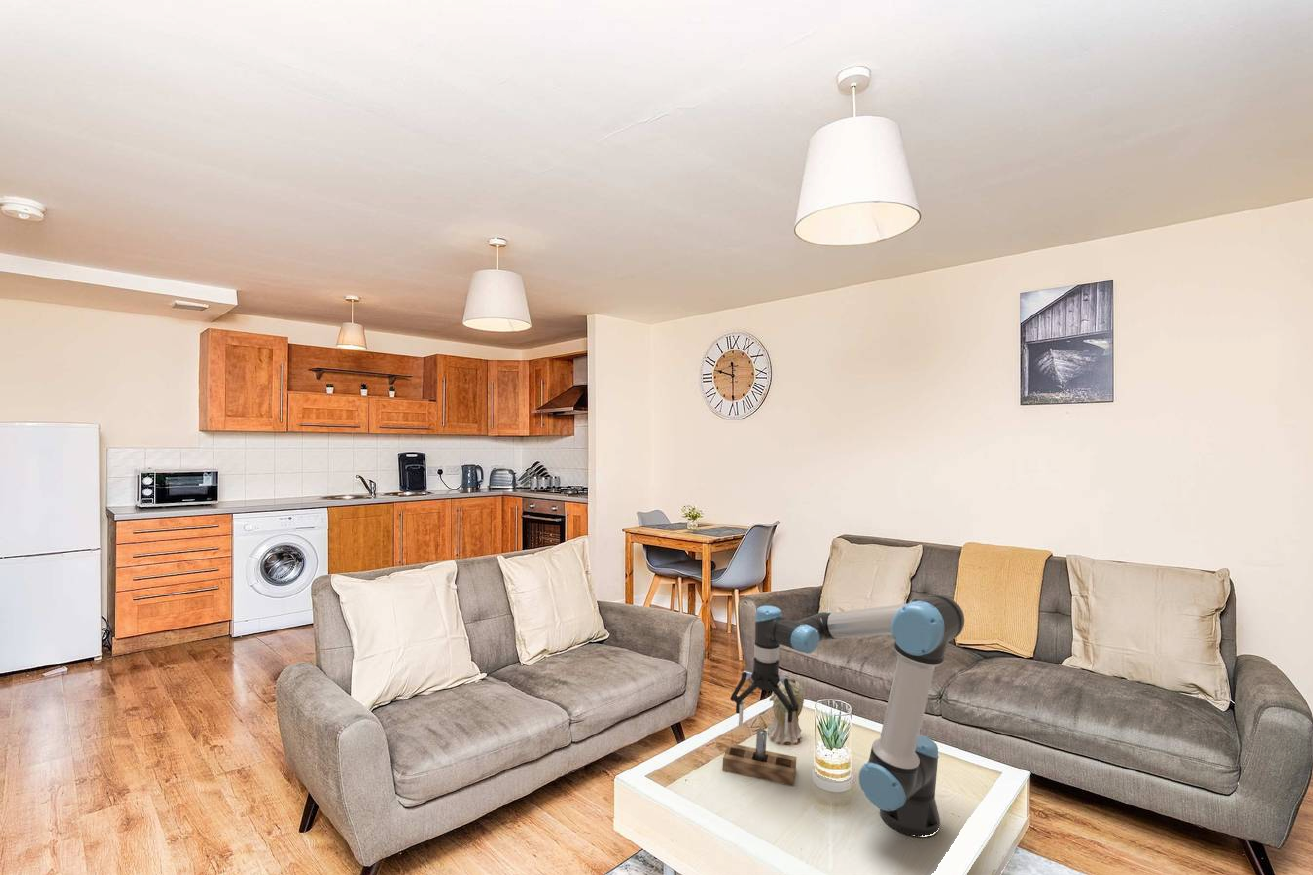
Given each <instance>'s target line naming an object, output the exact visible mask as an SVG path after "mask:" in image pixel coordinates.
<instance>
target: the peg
mask: <svg viewBox="0 0 1313 875" xmlns="http://www.w3.org/2000/svg"><path fill="white" fill-rule="evenodd" d="M767 736H768V730H766V729H764V728H763V729H761V728H759V729H757V730H756V741H755V748H756V753H755V760H756V761H761V762H765V755H766V751H767V741H768V740H767V738H768V737H767Z"/></svg>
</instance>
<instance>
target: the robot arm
mask: <svg viewBox="0 0 1313 875" xmlns="http://www.w3.org/2000/svg"><path fill="white" fill-rule="evenodd" d="M964 616H965V615H964V612H963V610H962V607H961V606H960V605H959V604H958V603H957V602H956V601H955V600H954V599H952V598H951V597H949V596H947V595H944V594H932V595H928V596H925V597H920V598H914V599H911V600H910V601H909V602H908V603H904V604H895V605H888V606H886V605H885V606H879V607H869V608H861V609H852V610H845V611H844V610H843V611H833V612H830V611H823V612H818V613H816V614H814V615H810V616H809V617H805V618H803V619H799V620H795V621H794V620H790V619H787V618H785V617H783V616H782V610H781V608H779V607H777V606H774V605H761V606H759V607H758V608H756V612H755V620H754V623H755V624H754V643H753V644H754V645H753V646H754V647H753V657H754V658H753V665H752V666H753V669H752V670H753V671H752V672H751V671H748V669H744V670H743V672H742V674H741V675H742V676H741V679H740V680H739V683H738V684H737V685H736V687H735V689H734V691H733V692H732V694H731V696H730V701H732V702H735V707H736V708H735V713H736V714H739V716H738V726H740V727H742V725H743V723H744V705H745V704H744V703H745V701H744V700H745V699H746V698H747V697H748V696H750V694H752V692H753V691H755V690H756V689H757V688H758V689H759V690H760V691H763V690H764V691H767V692H771V691H772V692H773V694H776V695H777V697H778V698H779V699H780V701H781V702H782V704H783V705H784V706H785V708H786V712H785V731H784V734H787V732H788V722H790V723H791V722H792V712H794V711H796V712H797V711H798V709H799V705H798V702H797V700H796V698H795V695H794V693H793V691H792V689H791V686H790V684H789V679H790V677H789V676H787V675H786V676H784V677H783V676H782V677H781V676H780V674H779V669H780V661H779V659H780V648H781V647H780V646H783V647H786V648H790V649H792V650H794V651H797V652H800V653H805V654H812V653H814V652H815V650H816V649H817V647H818V645H819V644H820V643H819V642H822V641H826V640H828V641H829V640H836V639H846V638H847V639H849V638H862V637H875V636H888V635H891V636H892V637H893V639H894V643H893V650H894V651H895V652H896V654H897V661H896V665H895V670H894V675H893V679H892V684H891V688H890V693H889V698H888V702H887V708H886V710H885V714H884V720H883V724H882V728H881V729H882V730H881V733H880V737H879V738H877V739H875V740H874V741H873V742H872V746H871V749H870V754H869V758H868V761H867V762H866V763H864V764H863V766H862V767H861V768H860V770H859V772H858V781H859V782H858V784H859V786H860V789H861V791H862V792H863V793H864V796H865V798H866V799H867V800H868V801H869V802H870V803H871V804H873V806H875V807H877V808H878V809H879V815H880V818H881V819H882V820H883V821H884V823H885V824H886V825H888V826H889V827H890V828H891V829H893V830H894V831H897V832H899V833H901V834H904V835H906V834H908V835H907V836H909V835H915V836H922V835H923V836H925V835H930V834H933V833H934V832H936V831H937V830H938V828H939V829H940V827H939V826H940V825H941V819H940V814H939V810H938V806H937V803H936V802H937V801H936V798H935V797H936V785H937V773H938V763H939V762H938V761H939V748H938V744H937V743H936V742H935V741H934V740H932V739H931V738H930V737H928V736H926V735H923V734H921V733H920V732H921V728H922V724H923V720H924V716H925V712H926V706H927V703H928V698H929V694H930V690H931V685H932V680H933V677H934V671H935V667H938V666H940V665H942V664H943V663H944V659H945V656H946V651H947V646H948V643H949V642H951V641H952V640H954V639H956V638H957V637H958V636H959V635H960V634H961V632H962V631H963V630H964V629H963V628H964V625H965V617H964ZM749 678H751V680H752V681H753V682H752V683H751V684H750V685H749V686H748V687H747V688H746V689H745V690H744V691H743V692H742V693H741V694H740V695H739V696H738V694H739V693H740V691H741V689H742V688H743V686H744V685H745V682H746V680H749ZM779 682H781V683H782V685H784V686H785V690H786V692H787V694H788V697H789V699H790V701H791V703H792V705H791V704H790V702H789V701H788V699H787V698H786V697H785V695H784V694H783V693H782V691H781V690H780V688H779V686H778V683H779Z"/></svg>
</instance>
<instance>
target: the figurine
mask: <svg viewBox="0 0 1313 875" xmlns="http://www.w3.org/2000/svg"><path fill="white" fill-rule="evenodd" d="M789 684H790V686H791V689H792V691H793V693H794V695H795V698H796V700H797V702H798V705H799V709H798V711H797V712H796V711H794V712H792V722H791V723H790V722H788V732H787V734H784V731H785V712H786V708H785V706H784V705H783V704H782V702H781V701H780V699H779V698H778V697H777V695H776V694H775V693H773V694H774V695H770V697H769V701H770V702H771V701H772V702H773V705H772V709H773V714H774V715H773V719H772V723H771V724H770V725H768V726H767V735H768V737H769V739H770V741H771V742H773V743H775V744H776V745H779V746H785V747H794V746H798V745H801V744H802V742H801V739H802V738H803V737H802V735H801V732H802V729H801V727H800V725H799V719H800V718H799V717H800V715H801V713H802V711H803V708H804V703H805V702H804V701H805V698H804V689H803V687H802V686H801V684H800V683H799V682H798V680H796V679H795V678H791V679H790V678H789ZM777 685H778V686H779V688H780V690H781V691H782V693H783V694H784V695H785V697H786V698H787V699H788V701H789V702H790V704H791V705H792V703H791V701H790V699H789V697H788V694H787V692H786V690H785V686H784V685H782V683H781V682H779V683H778V684H777ZM787 742H788V743H787Z"/></svg>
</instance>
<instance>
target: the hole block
mask: <svg viewBox="0 0 1313 875" xmlns="http://www.w3.org/2000/svg"><path fill="white" fill-rule="evenodd" d="M755 753H756V747H750V746H746V745H741V744H738V743H737V744H735V743H730V742H728V744H727V747H726V749H725V752H724V754H723V757H722V768H721V770H722V771H724V772H728V773H733V774H737V775H743V776H746V777H751V778H756V779H760V780H763V781H769V782H773V783H778V784H782V785H786V786H791V787H793V786H794V782H795V777H796V771H797V756H795V755H794V756H793V755H788V754H784V753H778V752H774V751H771V750H770V751H769V750H766V755H765V762H761V761H756V760H755Z"/></svg>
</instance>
